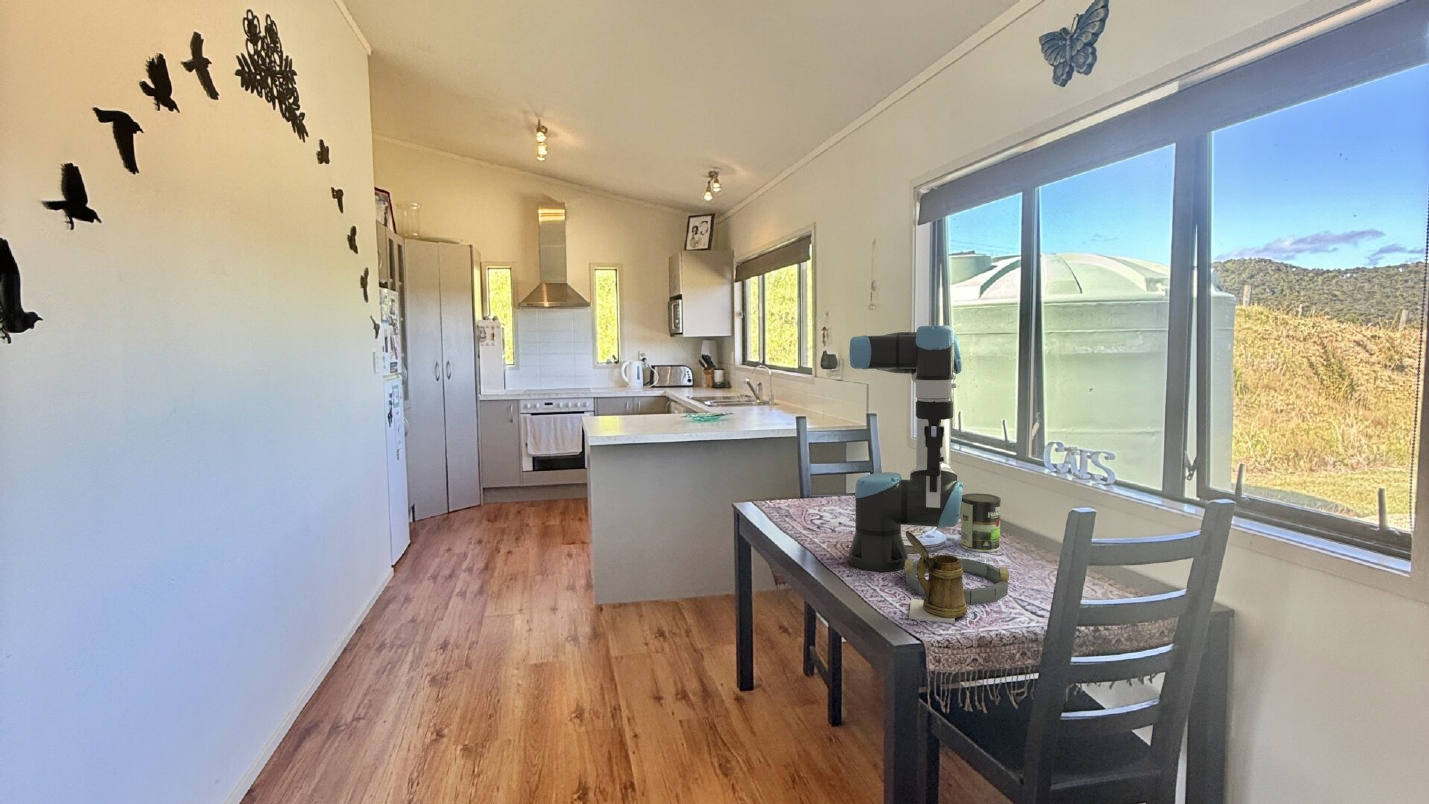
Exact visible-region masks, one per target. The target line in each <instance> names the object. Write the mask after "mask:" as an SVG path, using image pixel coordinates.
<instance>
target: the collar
mask: <svg viewBox="0 0 1429 804" xmlns="http://www.w3.org/2000/svg"><path fill="white" fill-rule="evenodd" d="M958 558H959V559H960V563H961V566H962V569H963V573H964V572H965V573H969V574H972V575H977V576H980V577H984V578H987V579H988V580H990V581H992V582H994V584H993V585H991V586H984V587H977V588H963V590H964V599H965V602H966V605H977V603H979V604H985V603H986V604H987V603H994V602H995V601H996V602H997V601H998V600H1001V599H1003V598H1005V596H1007V595H1009V594H1008V593H1009V581H1010V573H1009V569H1008V567H1007V566H998V568H997V567H996V566H994V565H993V564H990V563H987V562H982V561H979V560H973V559H970V558H964V557H961V558H960V557H958ZM918 561H919V559H917V560H915V561H914V559H909V558H908V559H906V560H905V567H904V572H905V586H906V587H908V589H910V590H912V591H913V592H914V593H916V594H917V595H919V596H923V597H924V598H925V597H926V596H925V591H924V589H923V587H922V586H921V584H920V582H919V580H918V578H917V565H918ZM925 573H929V572H928V569H927V570H926V571H925Z"/></svg>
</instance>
